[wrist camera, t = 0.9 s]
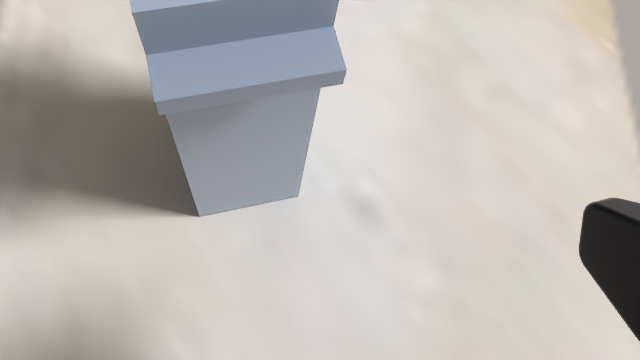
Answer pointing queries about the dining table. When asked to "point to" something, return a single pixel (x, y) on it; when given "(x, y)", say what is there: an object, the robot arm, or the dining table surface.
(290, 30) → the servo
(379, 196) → the dining table surface
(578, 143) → the dining table surface
